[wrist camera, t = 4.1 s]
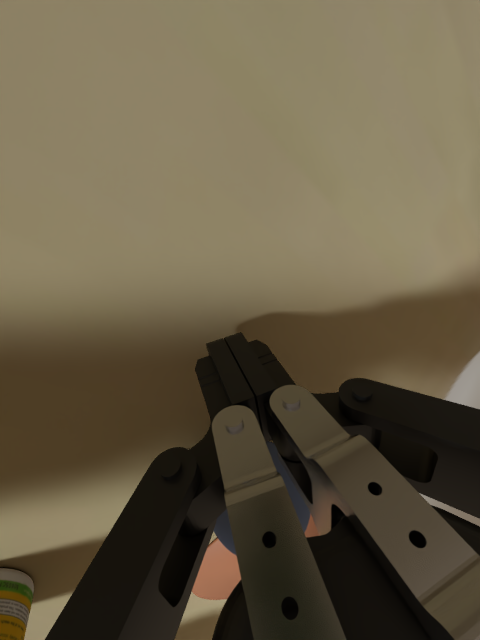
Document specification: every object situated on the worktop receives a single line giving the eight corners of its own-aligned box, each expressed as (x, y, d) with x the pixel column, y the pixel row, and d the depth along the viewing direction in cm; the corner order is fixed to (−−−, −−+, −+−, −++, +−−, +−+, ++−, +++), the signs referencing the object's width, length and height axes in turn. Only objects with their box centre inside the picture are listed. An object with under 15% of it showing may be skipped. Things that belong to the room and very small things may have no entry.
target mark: (207, 613, 27) (207, 616, 27) (169, 553, 21) (169, 556, 20) (330, 551, 30) (331, 553, 30) (332, 479, 23) (334, 481, 23)
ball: (207, 495, 19) (232, 602, 14) (186, 440, 16) (211, 554, 11) (285, 461, 20) (332, 552, 15) (279, 405, 17) (334, 496, 13)
